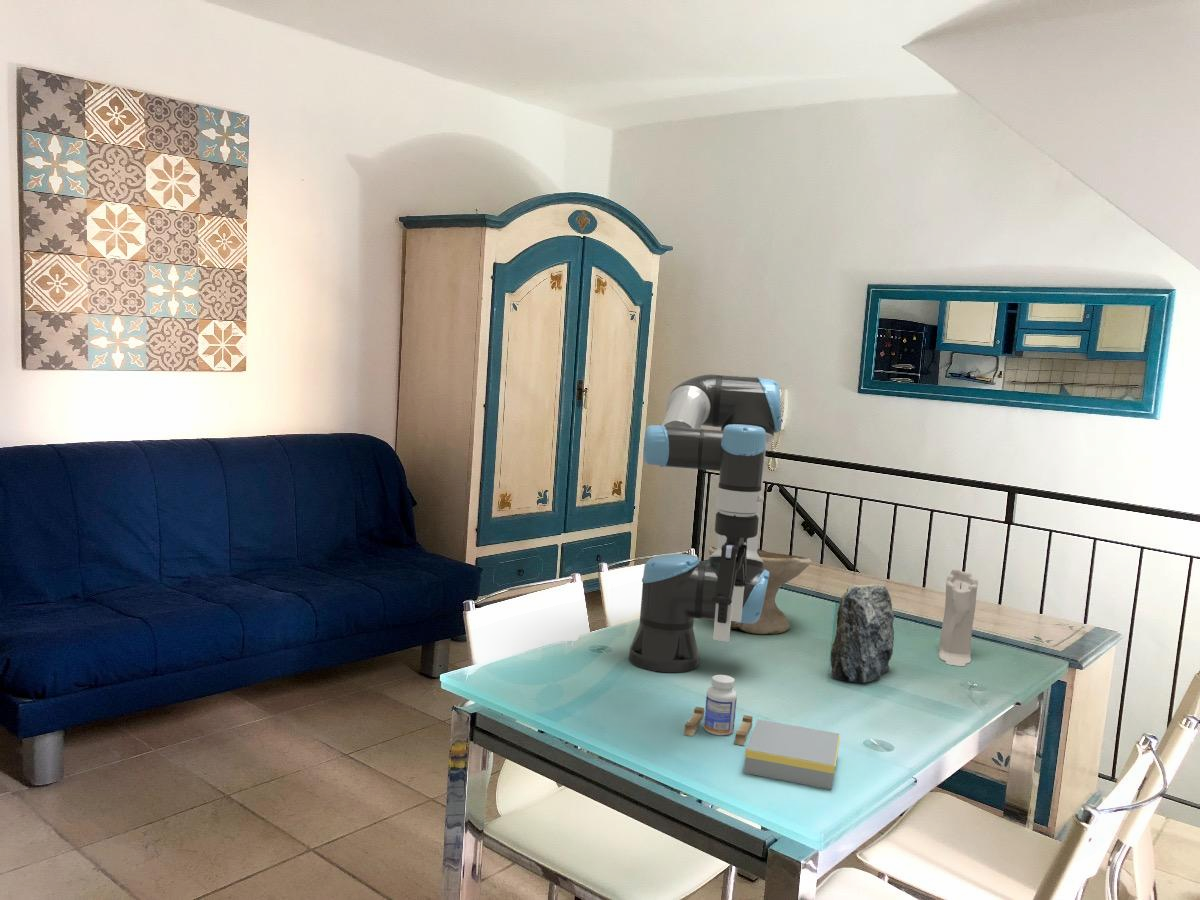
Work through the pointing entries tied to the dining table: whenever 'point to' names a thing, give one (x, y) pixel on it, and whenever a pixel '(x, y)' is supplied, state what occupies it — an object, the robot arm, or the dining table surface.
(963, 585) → the candle
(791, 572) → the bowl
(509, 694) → the dining table surface
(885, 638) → the stone block
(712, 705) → the pill bottle
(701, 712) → the wooden rail rack
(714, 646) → the dining table surface
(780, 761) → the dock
